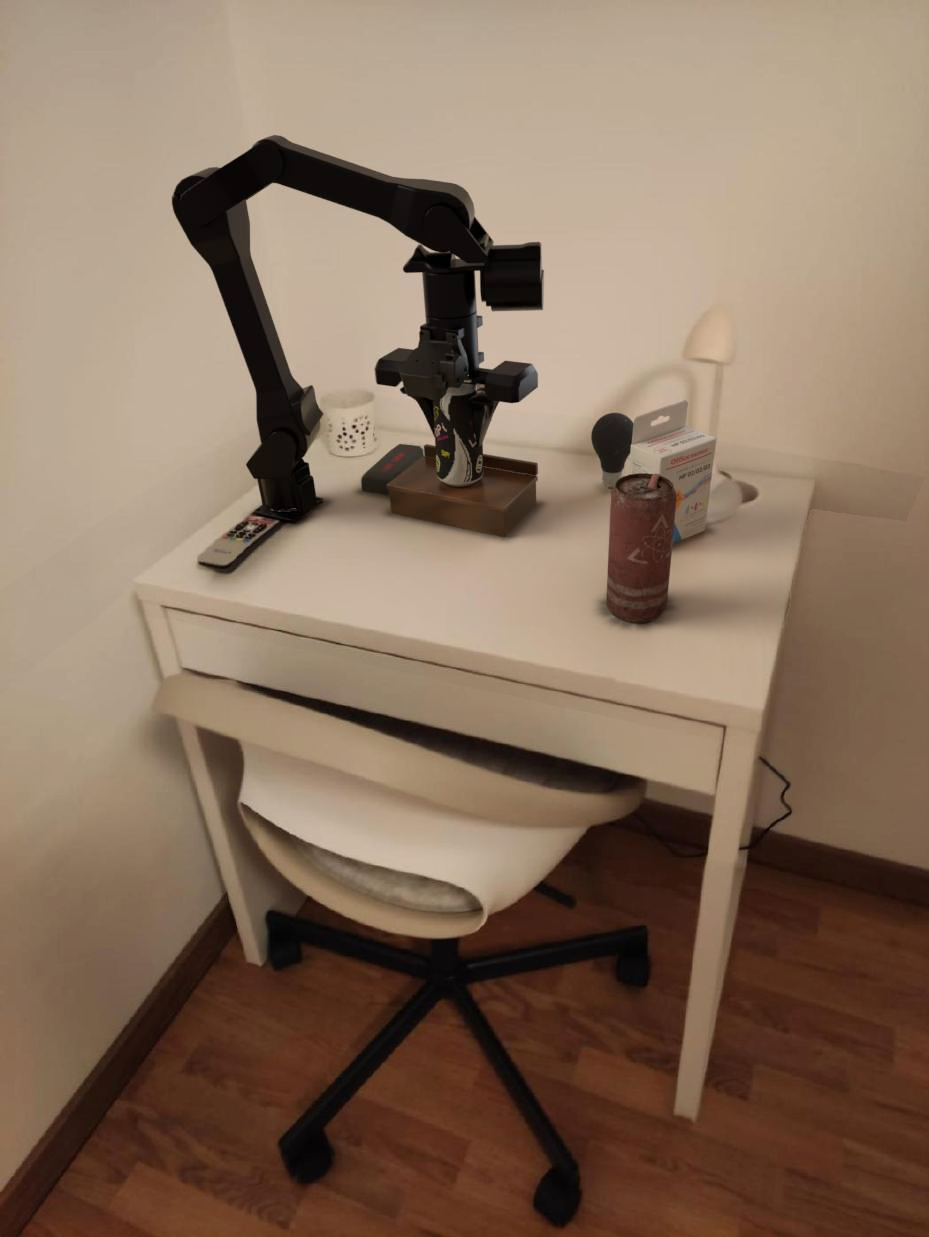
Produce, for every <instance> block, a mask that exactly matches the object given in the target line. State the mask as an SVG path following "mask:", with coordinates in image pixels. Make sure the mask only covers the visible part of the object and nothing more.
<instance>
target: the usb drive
mask: <svg viewBox="0 0 929 1237" xmlns="http://www.w3.org/2000/svg"><path fill="white" fill-rule="evenodd" d="M424 445H425V444H419V443H411V442H410V443H409V442H406V443H398V444H397V445H395V446H394V447H393V448H391V449H390V450H388V452H386V453H385V455H383V456H382V457H381V458H380V459H379V460H378V461H377V462H375V463H374V464H373V465H372V466H371V467H370V468H369V469H367V470H366V471H365V472H364V474H362V476H361V481H360V483H361V492H363V493H372V494H379V495H385V496H386V495H387V496H389V489H387V486H386V485H387V484H388V483H389V482H391V481H392V480H393V479H395V478H396V477H397V476H398V475H400V474H401V473H402V472H404V471H405V470H406V469H408V468H409V467H410V466H412V465H413V464H414V463H415V462H417V461H418V460H419V459H421V458H422V457H423V456H425V452H424Z"/></svg>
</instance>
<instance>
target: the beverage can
mask: <svg viewBox="0 0 929 1237" xmlns="http://www.w3.org/2000/svg"><path fill="white" fill-rule="evenodd" d="M476 394H477V387H476V385H471V384H464V383H462V385H461V386H460V388H452V387H450V388H448V390H447V393H446V395H445V396H444V397H443V398H441V399H439V400H433V411H434V429H435V437H434V446H435V448H436V466H437V477H438V479H440V480H441V481H442V482H444V483H446V484H448V485H450V486H455V487H464V486H469V485H471V484H473V483H475V482H476V481H478V480H479V479H481V478H482V476H483V467H484V466H483V454H484V442H483V443H482V445H480V446H479V447H478V448H477V443H476V437H475V431H474V426H473V409H472V407H471V405H470V404H469V402H468V400H469V399H470V398H471V397H473V396H474V395H476Z"/></svg>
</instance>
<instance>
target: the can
mask: <svg viewBox="0 0 929 1237" xmlns="http://www.w3.org/2000/svg"><path fill="white" fill-rule="evenodd" d="M676 500H677V495H676V491H675V489H674V486H673V483H672V482H671V481H670V480H669V479H667V478H665V477H663V476H660V474H648V473H637V474H630V475H629V474H627V475H624V476H622V478H620V479H619V480H617V482H616V483H615V487H614V488H613V489H611V491H610V508H609V510H610V512H609V531H608V532H609V533H608V554H607V575H606V576H607V577H606V596H605V598H606V599H605V600H606V601H605V604H606V607H607V609H608V610H609V612H610V613H611V615H612V616H614V617H615V618H617V619H618V620H621V621H623V622H627V623H631V624H644V623H648V622H649V623H650V622H652V621H654V620H657V619H658V618H659V617H661V616H662V614H664V613H665V611H666V608H667V606H668V596H669V588H670V587H669V586H670V577H671V576H670V574H671V566H672V565H671V564H672V553H673V544H674V543H673V532H674V522H675V511H676Z"/></svg>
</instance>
